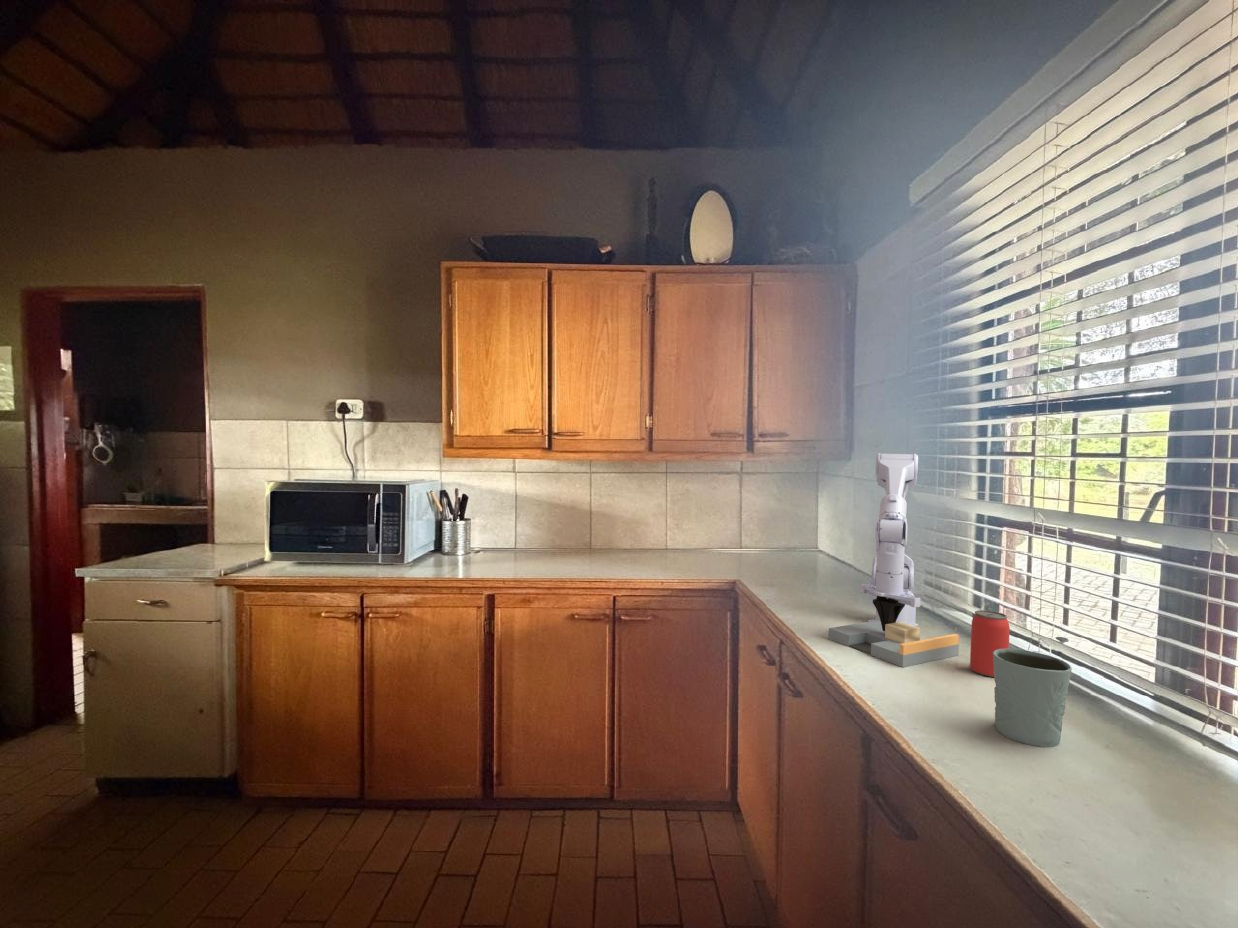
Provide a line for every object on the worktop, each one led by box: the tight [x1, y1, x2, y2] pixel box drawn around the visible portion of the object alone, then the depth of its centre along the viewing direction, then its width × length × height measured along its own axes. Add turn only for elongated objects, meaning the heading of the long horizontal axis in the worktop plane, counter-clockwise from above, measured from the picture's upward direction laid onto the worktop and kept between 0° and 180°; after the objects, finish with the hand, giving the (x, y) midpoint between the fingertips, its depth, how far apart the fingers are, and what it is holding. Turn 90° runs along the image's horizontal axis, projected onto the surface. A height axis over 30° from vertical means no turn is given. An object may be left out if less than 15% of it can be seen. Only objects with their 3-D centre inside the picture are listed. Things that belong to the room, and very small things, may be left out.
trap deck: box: [828, 620, 960, 668], centre depth 135 cm, size 18×20×4 cm
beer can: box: [969, 609, 1011, 678], centre depth 121 cm, size 7×7×12 cm
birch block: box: [885, 622, 921, 644], centre depth 133 cm, size 5×5×3 cm
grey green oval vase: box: [993, 648, 1073, 748], centre depth 94 cm, size 10×10×12 cm
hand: (887, 630), depth 136 cm, fingers closed
